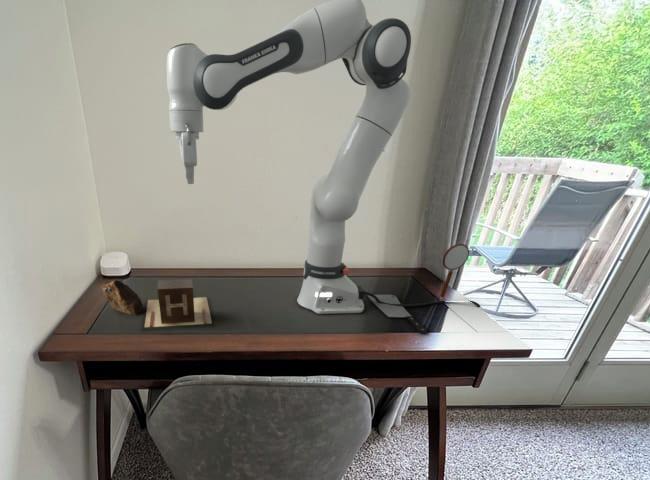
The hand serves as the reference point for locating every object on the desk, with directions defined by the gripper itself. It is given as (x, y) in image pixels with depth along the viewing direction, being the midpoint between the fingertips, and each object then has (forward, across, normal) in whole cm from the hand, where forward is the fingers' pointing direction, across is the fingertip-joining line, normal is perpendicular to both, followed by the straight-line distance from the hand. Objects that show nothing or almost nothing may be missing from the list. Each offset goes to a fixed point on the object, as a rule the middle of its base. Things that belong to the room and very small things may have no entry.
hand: (190, 181), depth 102 cm
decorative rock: (+37, -6, +23) cm, 44 cm away
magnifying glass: (+37, -11, -86) cm, 94 cm away
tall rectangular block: (+36, -14, +6) cm, 40 cm away
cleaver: (+37, -18, -64) cm, 77 cm away
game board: (+37, -9, +6) cm, 39 cm away
